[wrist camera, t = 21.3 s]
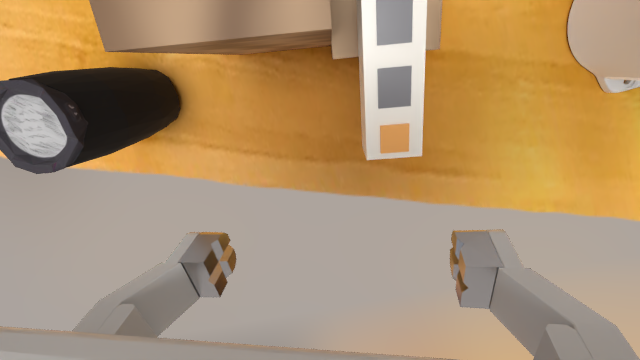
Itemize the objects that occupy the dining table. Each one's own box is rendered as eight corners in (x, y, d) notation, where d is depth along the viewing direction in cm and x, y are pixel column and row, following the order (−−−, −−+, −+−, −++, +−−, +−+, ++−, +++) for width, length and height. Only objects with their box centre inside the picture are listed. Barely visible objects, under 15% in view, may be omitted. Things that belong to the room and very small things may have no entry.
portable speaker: (108, 79, 42) (-59, 96, 24) (168, 55, 41) (38, 53, 23) (141, 138, 45) (14, 192, 27) (198, 117, 44) (104, 159, 26)
